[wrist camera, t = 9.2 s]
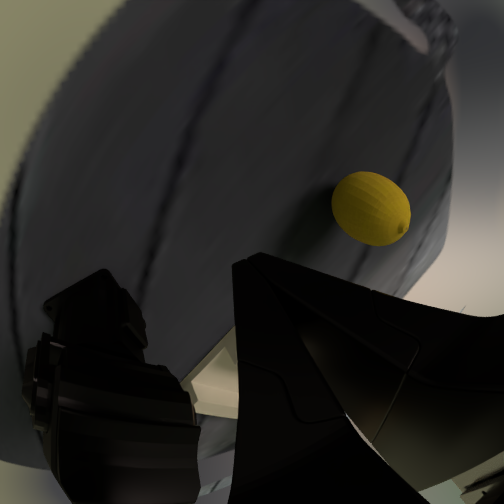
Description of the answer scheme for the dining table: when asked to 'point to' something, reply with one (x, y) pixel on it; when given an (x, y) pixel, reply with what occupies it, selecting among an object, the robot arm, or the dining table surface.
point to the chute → (216, 380)
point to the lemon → (371, 208)
